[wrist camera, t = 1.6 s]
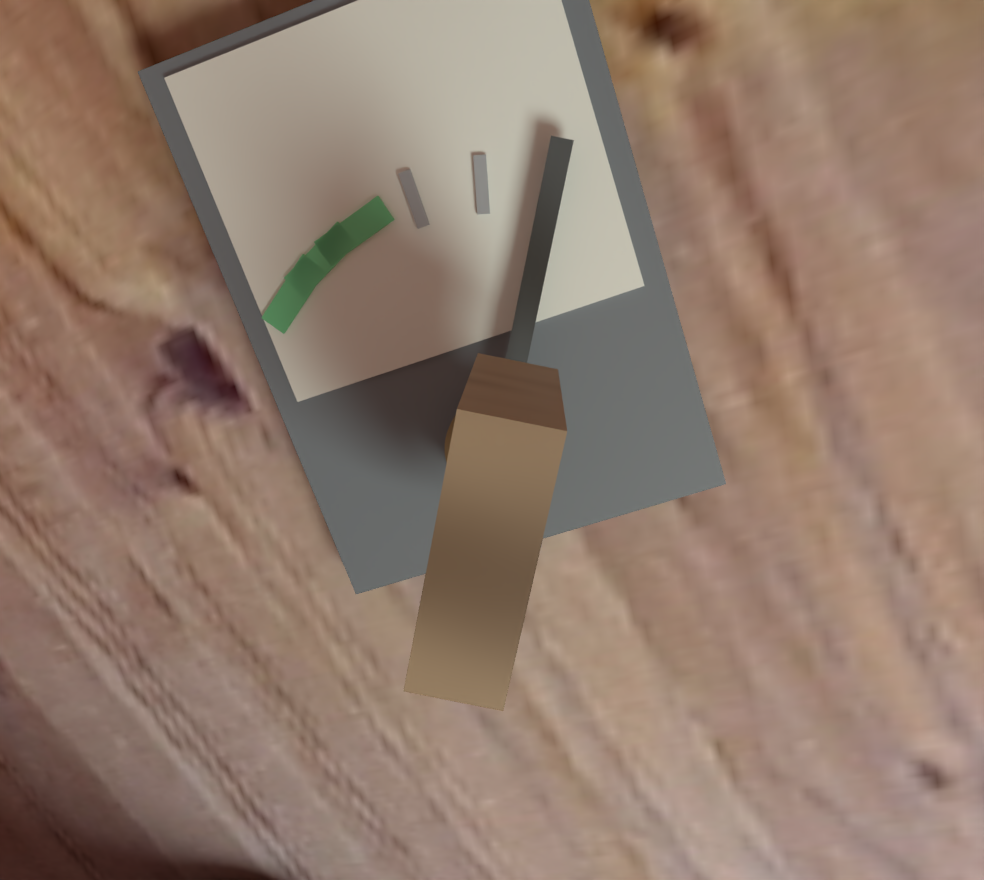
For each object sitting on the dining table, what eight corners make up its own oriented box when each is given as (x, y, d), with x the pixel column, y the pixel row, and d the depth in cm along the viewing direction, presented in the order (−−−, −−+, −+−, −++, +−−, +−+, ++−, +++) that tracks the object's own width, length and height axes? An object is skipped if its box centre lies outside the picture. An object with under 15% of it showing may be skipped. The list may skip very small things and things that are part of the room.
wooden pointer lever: (529, 548, 29) (527, 716, 20) (429, 528, 29) (378, 686, 20) (619, 150, 25) (671, 116, 16) (504, 127, 25) (487, 78, 16)
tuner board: (364, 576, 32) (354, 598, 30) (158, 78, 28) (132, 69, 26) (716, 470, 30) (728, 487, 29) (559, -82, 26) (560, -104, 24)
